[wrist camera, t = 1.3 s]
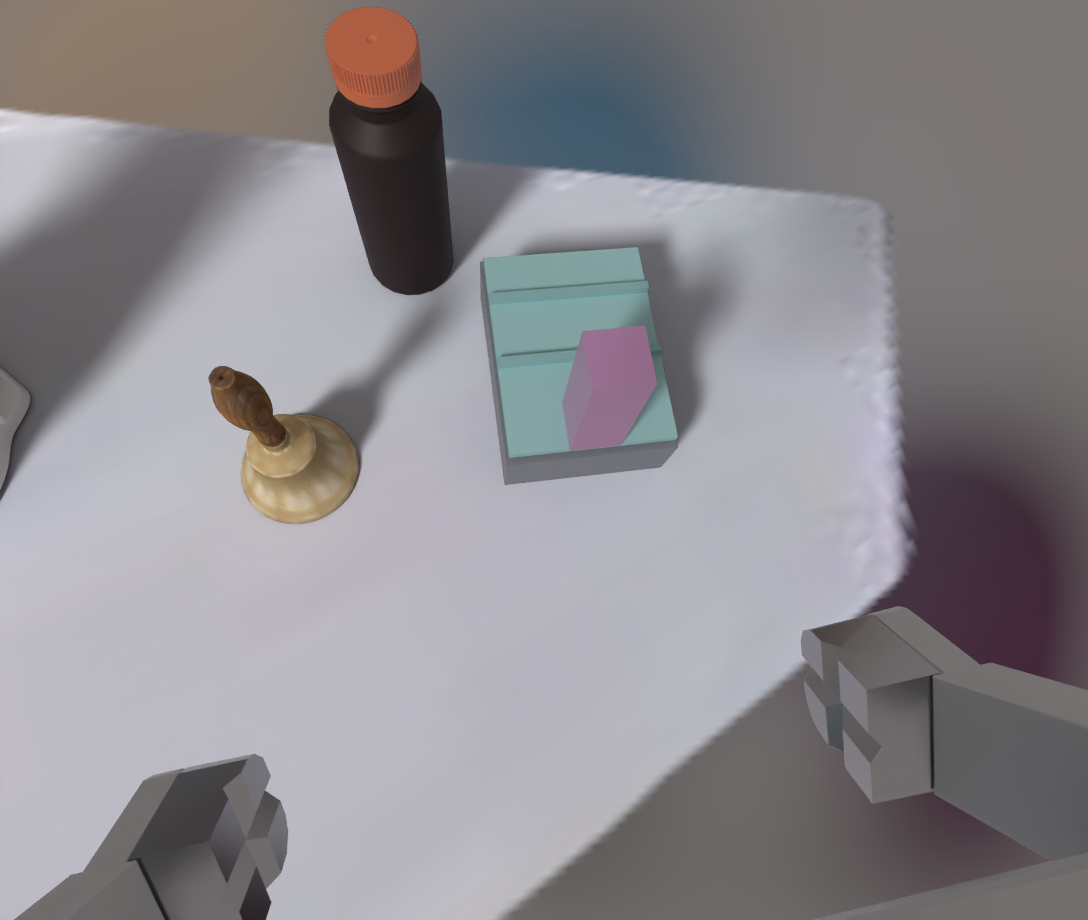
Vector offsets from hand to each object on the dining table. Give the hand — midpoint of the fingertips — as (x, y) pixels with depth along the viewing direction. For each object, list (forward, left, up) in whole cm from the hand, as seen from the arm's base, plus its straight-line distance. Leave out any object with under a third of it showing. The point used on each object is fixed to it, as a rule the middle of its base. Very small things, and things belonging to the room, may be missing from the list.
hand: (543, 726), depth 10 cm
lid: (-14, +19, -32) cm, 39 cm away
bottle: (-30, +16, -37) cm, 50 cm away
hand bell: (-21, -1, -37) cm, 42 cm away
